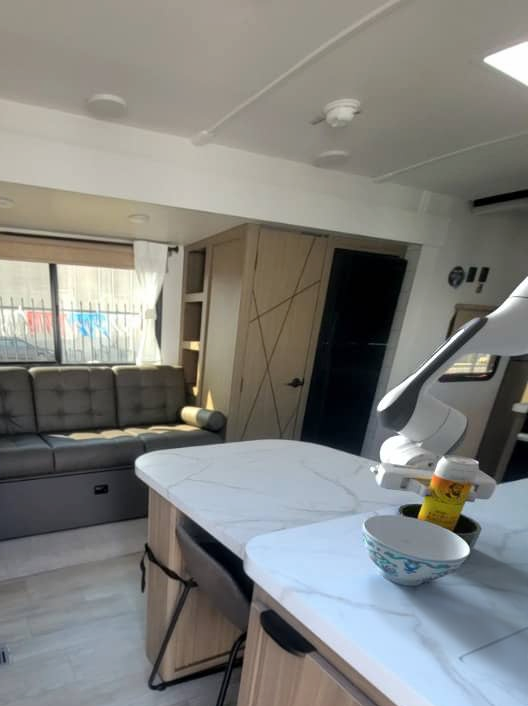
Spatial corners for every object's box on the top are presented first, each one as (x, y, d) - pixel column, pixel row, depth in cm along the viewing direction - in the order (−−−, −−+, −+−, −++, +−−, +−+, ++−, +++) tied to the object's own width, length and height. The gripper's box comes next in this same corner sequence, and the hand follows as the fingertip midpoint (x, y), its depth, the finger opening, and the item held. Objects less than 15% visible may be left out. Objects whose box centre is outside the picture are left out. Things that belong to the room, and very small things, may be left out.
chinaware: (378, 600, 63) (393, 557, 59) (337, 550, 76) (348, 513, 73) (474, 603, 63) (495, 561, 59) (416, 553, 76) (430, 516, 73)
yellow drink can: (420, 537, 77) (448, 462, 71) (409, 523, 82) (435, 452, 76) (455, 542, 76) (488, 466, 69) (442, 528, 81) (471, 456, 75)
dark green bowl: (445, 530, 85) (455, 506, 83) (486, 564, 73) (499, 538, 71) (379, 524, 87) (387, 501, 84) (408, 557, 75) (418, 531, 72)
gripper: (372, 452, 87) (393, 473, 75) (478, 461, 84) (518, 486, 72) (364, 479, 90) (383, 504, 78) (466, 489, 87) (503, 517, 74)
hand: (449, 495), depth 75 cm, fingers closed on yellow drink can, 6 cm apart
